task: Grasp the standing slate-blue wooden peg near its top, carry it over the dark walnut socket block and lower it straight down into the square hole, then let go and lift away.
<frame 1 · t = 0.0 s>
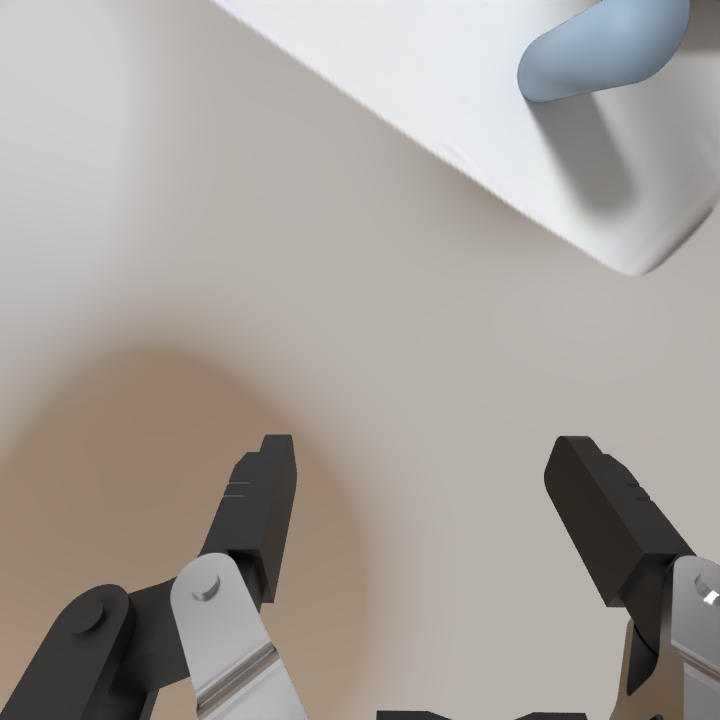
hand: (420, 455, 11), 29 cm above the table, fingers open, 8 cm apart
peg: (545, 68, 29), on the table
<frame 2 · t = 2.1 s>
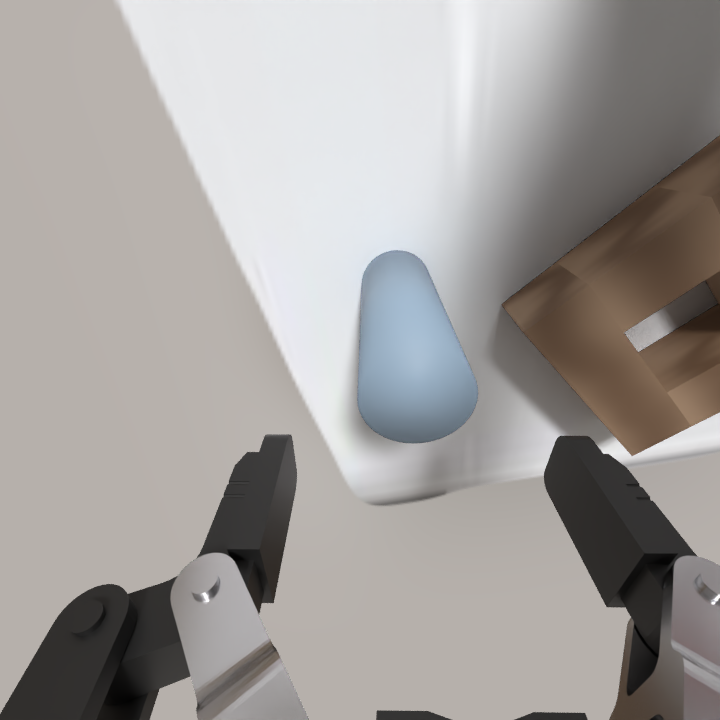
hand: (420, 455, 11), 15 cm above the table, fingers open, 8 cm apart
peg: (395, 284, 24), on the table
socket block: (652, 304, 24), on the table
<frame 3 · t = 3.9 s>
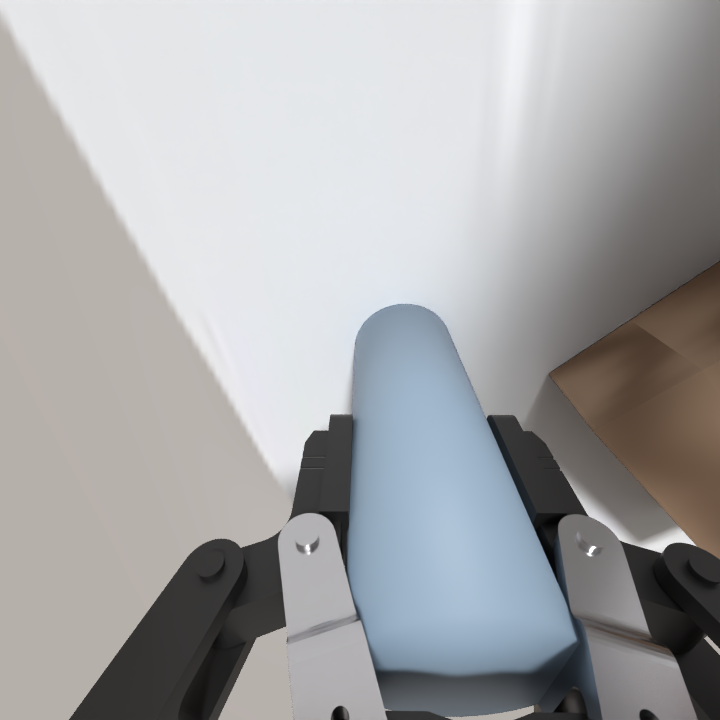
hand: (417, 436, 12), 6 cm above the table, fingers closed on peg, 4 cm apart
peg: (402, 348, 17), on the table, touching gripper
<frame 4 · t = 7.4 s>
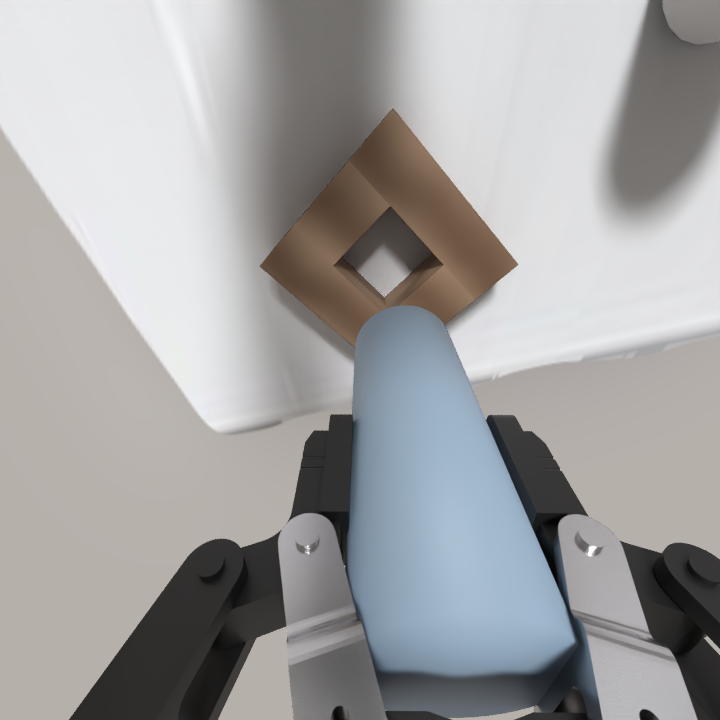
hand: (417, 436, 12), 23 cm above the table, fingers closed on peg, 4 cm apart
peg: (402, 349, 17), point 17 cm above the table, touching gripper
socket block: (385, 251, 31), on the table
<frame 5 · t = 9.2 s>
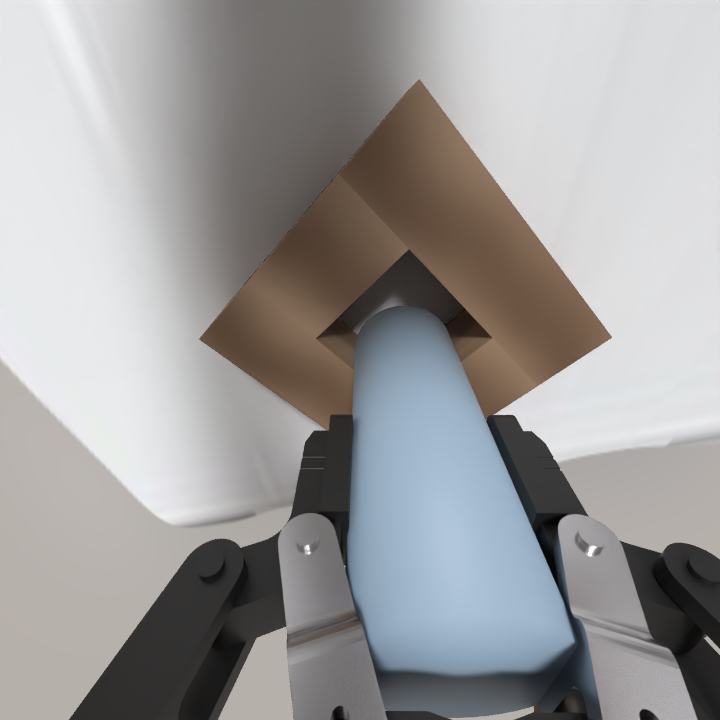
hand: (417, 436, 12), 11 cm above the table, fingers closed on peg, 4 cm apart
peg: (402, 349, 17), point 5 cm above the table, touching gripper
socket block: (397, 305, 21), on the table
when the fingers open (7 cm above the table, at t = 10.8 s): peg stays where it is, resting in socket block.
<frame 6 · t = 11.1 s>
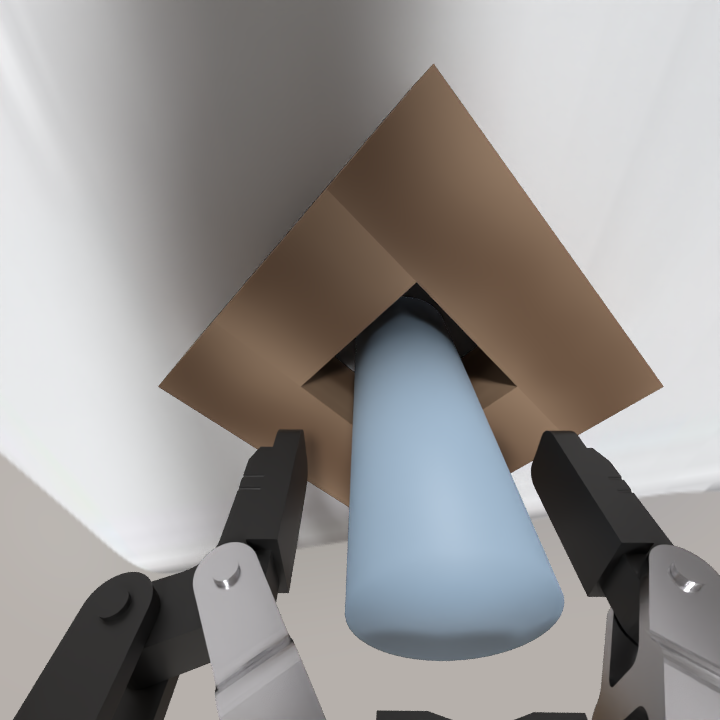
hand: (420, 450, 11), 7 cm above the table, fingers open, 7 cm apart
peg: (401, 339, 18), resting in socket block
socket block: (400, 338, 18), on the table
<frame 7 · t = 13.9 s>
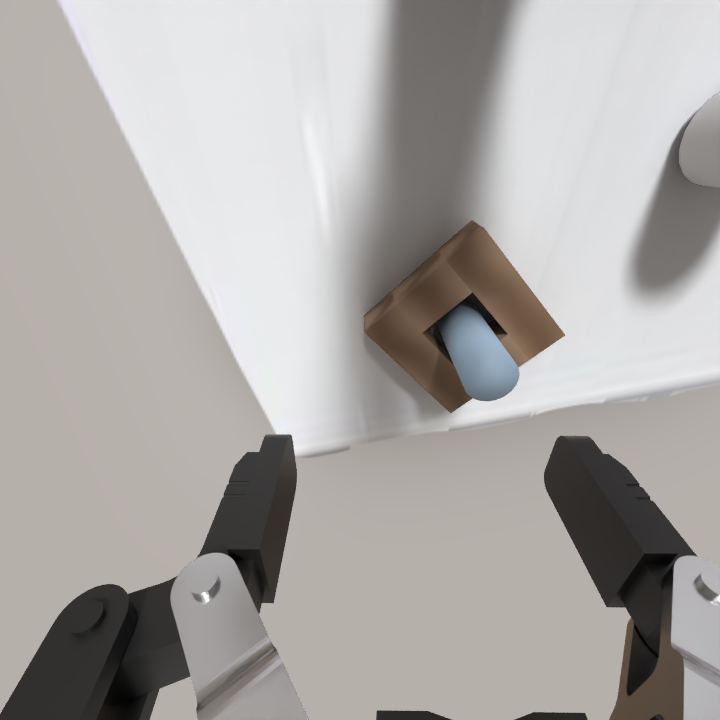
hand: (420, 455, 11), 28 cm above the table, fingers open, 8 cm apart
peg: (456, 317, 39), resting in socket block
can: (716, 136, 31), on the table
socket block: (455, 317, 39), on the table
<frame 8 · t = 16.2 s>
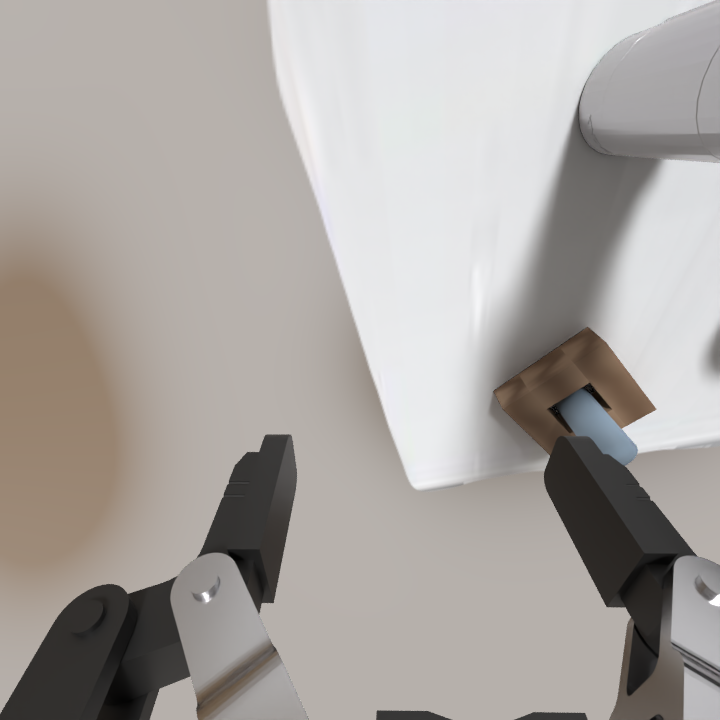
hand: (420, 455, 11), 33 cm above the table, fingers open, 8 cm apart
peg: (565, 391, 51), resting in socket block
socket block: (564, 391, 51), on the table
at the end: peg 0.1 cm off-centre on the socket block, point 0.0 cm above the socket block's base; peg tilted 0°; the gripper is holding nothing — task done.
